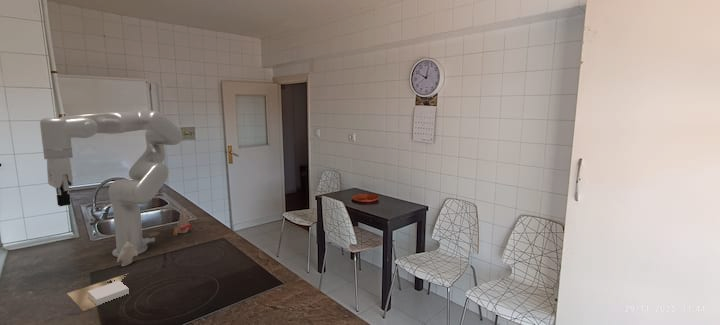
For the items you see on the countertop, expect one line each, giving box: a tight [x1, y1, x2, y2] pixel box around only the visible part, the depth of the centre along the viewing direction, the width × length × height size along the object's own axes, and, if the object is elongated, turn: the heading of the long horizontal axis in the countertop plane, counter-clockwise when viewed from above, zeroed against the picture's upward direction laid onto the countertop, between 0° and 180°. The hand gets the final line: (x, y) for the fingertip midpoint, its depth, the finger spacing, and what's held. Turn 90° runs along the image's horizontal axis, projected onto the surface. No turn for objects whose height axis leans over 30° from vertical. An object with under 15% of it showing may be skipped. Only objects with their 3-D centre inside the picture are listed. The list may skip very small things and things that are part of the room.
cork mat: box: [66, 273, 128, 312], centre depth 118 cm, size 18×16×1 cm
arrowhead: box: [116, 242, 139, 267], centre depth 136 cm, size 8×3×10 cm, turn 154°
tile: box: [88, 281, 130, 306], centre depth 115 cm, size 9×2×8 cm
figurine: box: [173, 209, 192, 236], centre depth 173 cm, size 9×7×12 cm
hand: (64, 205), depth 123 cm, fingers closed
